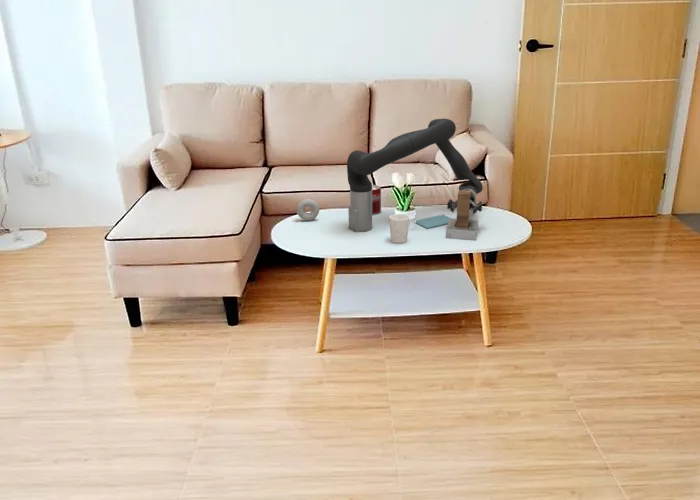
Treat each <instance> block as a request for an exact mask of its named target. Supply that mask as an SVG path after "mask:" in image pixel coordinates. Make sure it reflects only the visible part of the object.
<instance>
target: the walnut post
mask: <svg viewBox="0 0 700 500" xmlns="http://www.w3.org/2000/svg"><path fill="white" fill-rule="evenodd" d="M470 192H471V191H461V190H459V189H458V192H457V200H458V201H457V200H456V201H457V210H456V219H457V221H456V227H464V228H468V226H469V220H470V210H469V209H470Z"/></svg>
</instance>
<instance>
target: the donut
mask: <svg viewBox="0 0 700 500" xmlns="http://www.w3.org/2000/svg"><path fill="white" fill-rule="evenodd" d="M307 207H310V208H311V211H310V212H306V211H305V209H306V208H307ZM296 213H297V215H298V217H299V218H300V219H301V220H304V221H308V222H309V221H313V220H315V219H317V217H318V215H319V213H320V206H319V204H318V202H317V201H316V200H314V199H312V198H305V199H303V200H301V201H299V203H298V205H297V207H296Z"/></svg>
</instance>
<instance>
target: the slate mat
mask: <svg viewBox="0 0 700 500" xmlns="http://www.w3.org/2000/svg"><path fill="white" fill-rule="evenodd" d="M450 219H453V218H452V217H451V216H450V217H449V216H447V215H445V214H440V215H435V216H430V217H426V218H425V217H424V218H422V219H417V220H415V221H416V223H415V224H416V225H418V226H420V227H422V228H424V229H426V230H430V229H434V228H438V227H442V226H447V225H448V222H449V220H450Z"/></svg>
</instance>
